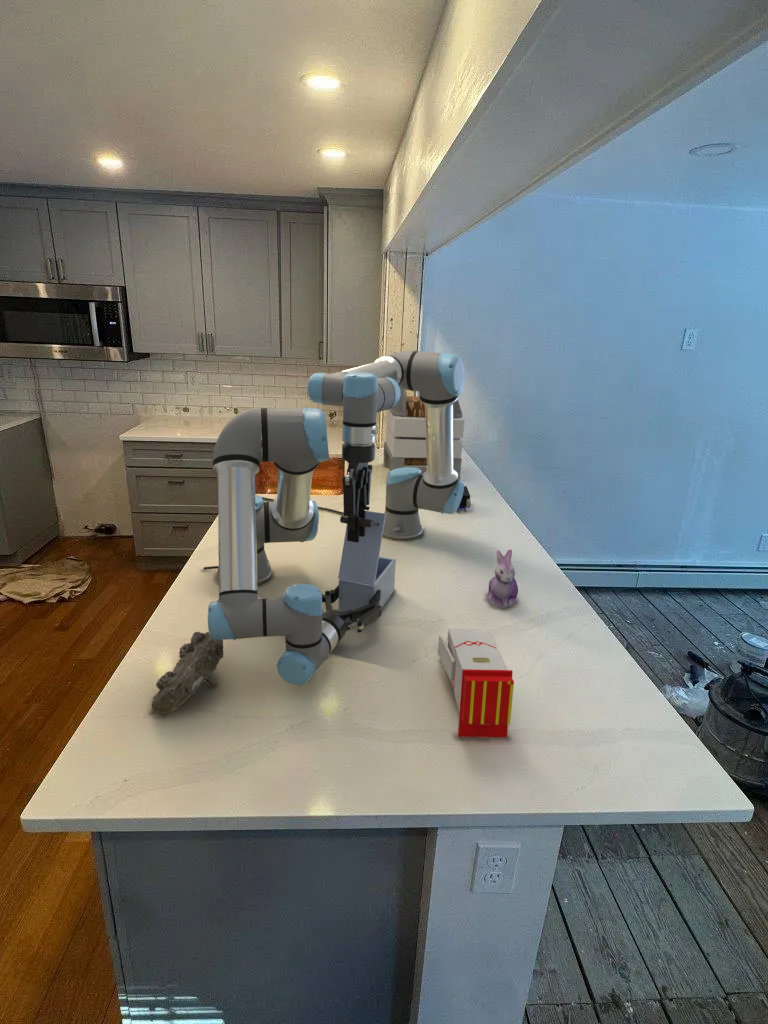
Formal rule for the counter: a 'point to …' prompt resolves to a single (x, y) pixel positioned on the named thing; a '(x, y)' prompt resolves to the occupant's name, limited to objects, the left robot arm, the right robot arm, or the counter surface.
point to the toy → (478, 682)
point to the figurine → (503, 582)
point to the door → (363, 550)
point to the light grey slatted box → (415, 434)
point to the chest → (368, 587)
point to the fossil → (188, 672)
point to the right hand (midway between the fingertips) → (356, 538)
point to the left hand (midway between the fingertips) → (360, 590)
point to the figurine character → (465, 500)
